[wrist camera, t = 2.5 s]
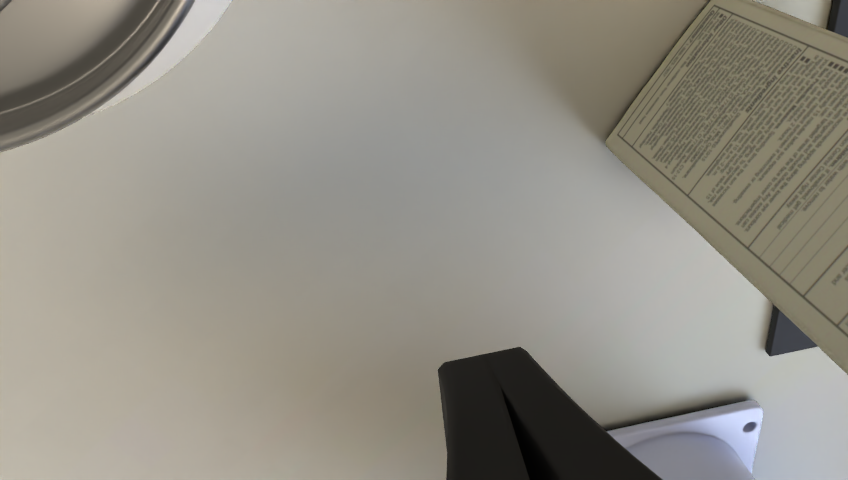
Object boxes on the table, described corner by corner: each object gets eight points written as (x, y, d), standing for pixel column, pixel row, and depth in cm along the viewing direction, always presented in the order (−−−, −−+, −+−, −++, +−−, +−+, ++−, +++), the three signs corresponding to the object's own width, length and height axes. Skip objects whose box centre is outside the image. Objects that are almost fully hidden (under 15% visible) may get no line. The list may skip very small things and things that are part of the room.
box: (698, 205, 23) (1005, 495, 14) (596, 141, 21) (869, 424, 12) (825, 58, 21) (1277, 274, 12) (725, -27, 19) (1167, 151, 10)
